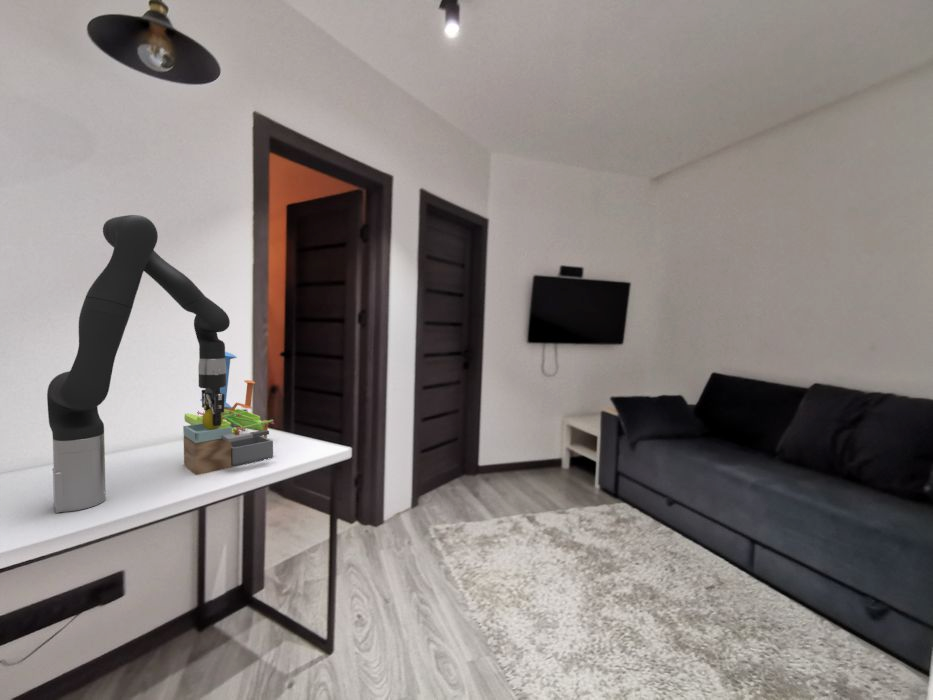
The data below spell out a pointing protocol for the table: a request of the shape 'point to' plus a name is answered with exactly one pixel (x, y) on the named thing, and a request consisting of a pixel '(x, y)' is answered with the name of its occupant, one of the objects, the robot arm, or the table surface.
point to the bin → (251, 450)
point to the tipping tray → (216, 433)
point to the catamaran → (232, 414)
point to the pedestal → (207, 455)
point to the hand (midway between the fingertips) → (212, 423)
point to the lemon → (210, 420)
